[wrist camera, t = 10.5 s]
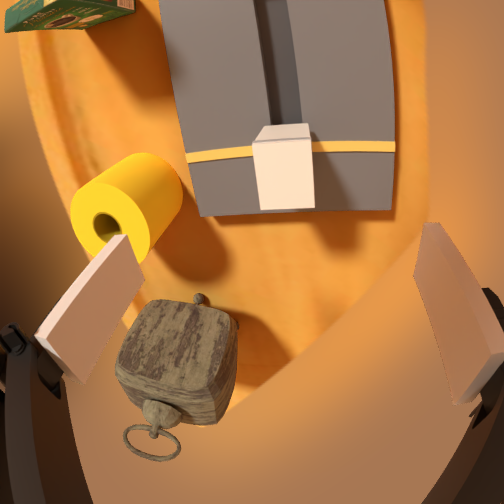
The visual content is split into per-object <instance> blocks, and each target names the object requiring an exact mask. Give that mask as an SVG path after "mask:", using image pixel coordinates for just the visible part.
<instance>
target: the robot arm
mask: <svg viewBox="0 0 504 504" xmlns="http://www.w3.org/2000/svg"><path fill="white" fill-rule="evenodd" d="M414 279H415V281H416V284H417V286H418V289H419V292H420V294H421V297H422V300H423V302H424V305H425V308H426V311H427V314H428V316H429V319H430V322H431V325H432V328H433V331H434V334H435V337H436V341H437V344H438V347H439V351H440V354H441V357H442V361H443V364H444V368H445V372H446V376H447V380H448V383H449V387H450V391H451V396H452V401H453V405H454V406H455V405H459V404H463V403H468V402H472V401H473V400H474V399H475V398H476V396H477V395H478V394H479V393H481V397H482V401H481V402H480V404H479V405H478V406H477V407H476V408H475V409H474V410H473V411H472V412H471V414H470V415H469V417H472V416H473V415H474V414H475V415H474V417H473V419H472V421H471V423H470V425H469V427H468V429H467V431H466V433H465V435H464V437H463V439H462V441H461V443H460V445H459V446H458V448H457V450H456V452H455V453H454V455H453V457H452V459H451V460H450V462H449V463H448V465H447V467H446V468H445V470H444V472H443V473H442V475H441V476H440V478H439V479H438V481H437V482H436V484H435V485H434V487H433V488H432V490H431V491H430V492H429V494H428V495H427V497H426V498H425V499H424V501H423V502H422V504H500V503H501V504H504V307H503V305H502V303H501V301H500V299H499V298H498V296H497V295H496V294H495V293H494V292H492V290H490V289H489V288H481V287H480V286H479V284H478V282H477V280H476V279H475V277H474V275H473V273H472V272H471V270H470V268H469V267H468V265H467V264H466V262H465V260H464V259H463V257H462V255H461V254H460V252H459V251H458V249H457V248H456V246H455V245H454V243H453V242H452V240H451V239H450V237H449V236H448V234H447V233H446V231H445V230H444V229H443V227H442V226H441V224H440V223H424V225H423V231H422V236H421V242H420V247H419V252H418V257H417V263H416V266H415V271H414ZM144 281H145V278H144V276H143V274H142V271H141V269H140V266H139V264H138V261H137V259H136V256H135V254H134V251H133V249H132V246H131V243H130V241H129V238H128V235H127V234H122V235H114V236H113V238H112V239H111V240H110V241H109V242H108V243H107V244H106V245H105V246H104V247H103V249H102V250H101V251H100V252H99V253H98V254H97V255H96V257H95V258H94V259H93V260H92V261H91V262H90V264H89V265H88V266H87V267H86V268H85V269H84V271H83V272H82V273H81V274H80V275H79V277H78V278H77V279H76V280H75V282H74V283H73V284H72V285H71V287H70V288H69V289H68V290H67V291H66V293H65V294H64V295H63V296H62V297H61V298H60V299H59V300H58V301H57V302H56V304H55V305H54V307H53V309H51V310H50V312H49V313H48V315H47V316H46V317H45V318H44V320H43V321H42V323H41V324H40V325H39V327H38V328H37V329H36V331H35V332H34V334H33V335H32V337H31V338H30V339H29V338H28V337H27V336H26V334H25V333H24V331H23V330H22V329H21V327H20V326H19V325H18V324H17V323H15V322H13V323H10V324H8V325H7V326H5V327H4V328H3V329H2V330H1V331H0V382H1V383H2V384H3V385H4V386H5V393H4V392H3V391H2V390H1V389H0V504H93V501H92V498H91V496H90V492H89V490H88V486H87V483H86V480H85V477H84V473H83V470H82V466H81V463H80V459H79V455H78V451H77V447H76V443H75V438H74V434H73V429H72V424H71V419H70V413H69V407H68V401H67V394H66V387H65V382H64V380H63V379H62V378H61V376H62V374H63V373H65V374H66V375H67V376H68V377H69V379H70V380H71V381H73V382H77V383H79V384H82V385H85V383H86V381H87V379H88V377H89V375H90V373H91V371H92V369H93V368H94V366H95V364H96V362H97V360H98V358H99V357H100V355H101V353H102V351H103V349H104V348H105V346H106V344H107V342H108V340H109V339H110V337H111V335H112V334H113V332H114V330H115V328H116V327H117V325H118V323H119V321H120V320H121V318H122V317H123V315H124V313H125V312H126V310H127V308H128V307H129V305H130V303H131V302H132V300H133V298H134V297H135V295H136V293H137V292H138V290H139V289H140V287H141V285H142V284H143V282H144ZM501 501H502V502H501Z"/></svg>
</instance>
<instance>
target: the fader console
mask: <svg viewBox="0 0 504 504" xmlns="http://www.w3.org/2000/svg"><path fill="white" fill-rule="evenodd" d="M159 7H160V14H161V20H162V27H163V33H164V40H165V46H166V52H167V58H168V64H169V69H170V75H171V81H172V86H173V91H174V97H175V102H176V107H177V112H178V117H179V123H180V127H181V132H182V137H183V142H184V147H185V152H186V154H185V155H186V160H187V163H188V166H189V170H190V175H191V179H192V184H193V188H194V193H195V197H196V201H197V206H198V210H199V214H200V217H208V216H224V215H242V214H262V213H285V212H312V211H353V210H391V206H392V193H393V177H394V152H395V108H394V84H393V69H392V58H391V48H390V39H389V31H388V24H387V17H386V11H385V5H384V0H159ZM301 123H308V126H309V132H310V137H311V141H312V155H313V171H314V190H315V208H296V209H272V210H261V209H260V202H259V194H258V187H257V180H256V172H255V165H254V158H253V151H252V142H253V141H255V139H256V138H257V136H258V135H259V133H260V132H261V130H262V129H263V127H264V126H271V125H284V124H301Z"/></svg>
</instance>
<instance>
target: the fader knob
mask: <svg viewBox="0 0 504 504" xmlns="http://www.w3.org/2000/svg"><path fill="white" fill-rule="evenodd" d="M252 151H253V158H254V165H255V172H256V180H257V187H258V194H259V202H260V209H261V210H272V209H296V208H315V190H314V171H313V155H312V141H311V137H310V132H309V126H308V123H301V124H284V125H271V126H264V127H263V129H262V130H261V132H260V133H259V135H258V136H257V138H256V139H255V141H253V142H252Z"/></svg>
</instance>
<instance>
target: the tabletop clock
mask: <svg viewBox="0 0 504 504" xmlns="http://www.w3.org/2000/svg"><path fill="white" fill-rule="evenodd" d="M194 302H195V304H191V303H185V302H178V301H171V300H152V301H150V302H149V303H148V304H147V305H146V306H145V307H144V308H143V309H142V311H141V312H140V313H139V315H138V317H137V318H136V320H135V321H134V323H133V325H132V326H131V328H130V329H129V331H128V333H127V335H126V338H125V339H124V342H123V344H122V346H121V349H120V351H119V353H118V357H117V360H116V364H115V375H116V377H117V379H118V381H119V382H120V384H121V386H122V388H123V389H124V391H125V393H126V394H127V396H128V397H129V399H130V401H131V402H132V403H133V404H135V405H136V406H137V407H139V408H140V409H142V413H143V415H144V417H145V419H146V421H148V422H149V423H150V424H152V426H149V425H133V426H130V427H128V428H127V429H126V430H125V431H124V434H123V440H124V442H125V444H126V446H127V447H128V448H129V449H130V450H131V451H132V452H133V453H135V454H137V455H138V456H140V457H143V458H146V459H149V460H153V461H159V462H161V461H169V460H171V459H174V458H175V457H176V456H177V455H179V453H180V451H181V445H180V442H179V441H178V440H177V438H176V437H175V436H173V435H171V434H170V433H169V432H167V431H165V430H163V429H169V428H172V427H175V426H177V425H178V424H179V423H180V422H182V423H187V424H193V425H213V424H217V423H218V422H219V421H220V419H221V418H222V417H223V415H224V414H225V412H226V410H227V407H228V405H229V402H230V399H231V396H232V393H233V390H234V386H235V378H236V371H237V341H238V332H237V330H238V329H239V324H238V322H236V321H235V320H234V319H233V318H232V317H231V316H230V315H229V314H227V313H225V312H223V311H221V310H218V309H215V308H210V307H205V306H201V305H199V304H202V303H203V302H204V296H203V295H202V294H200V293H197V294H195V295H194ZM161 428H162V429H161ZM135 429H139V430H147V431H150V433H149V436H150V437H151V438H153V439H156V438H158V435H159V434H160V435H163V436H166V437H167V438H169V439H171V440H173V442H175V444H176V445H177V450H176V452H174V453H173V454H171V455H168V456H155V455H150V454H147V453H144V452H141V451H140V450H138V449H135V448H134V447H133V446H132V445H131V444H130V443H129V441H128V439H127V433H128V432H129V431H130V430H135Z"/></svg>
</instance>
